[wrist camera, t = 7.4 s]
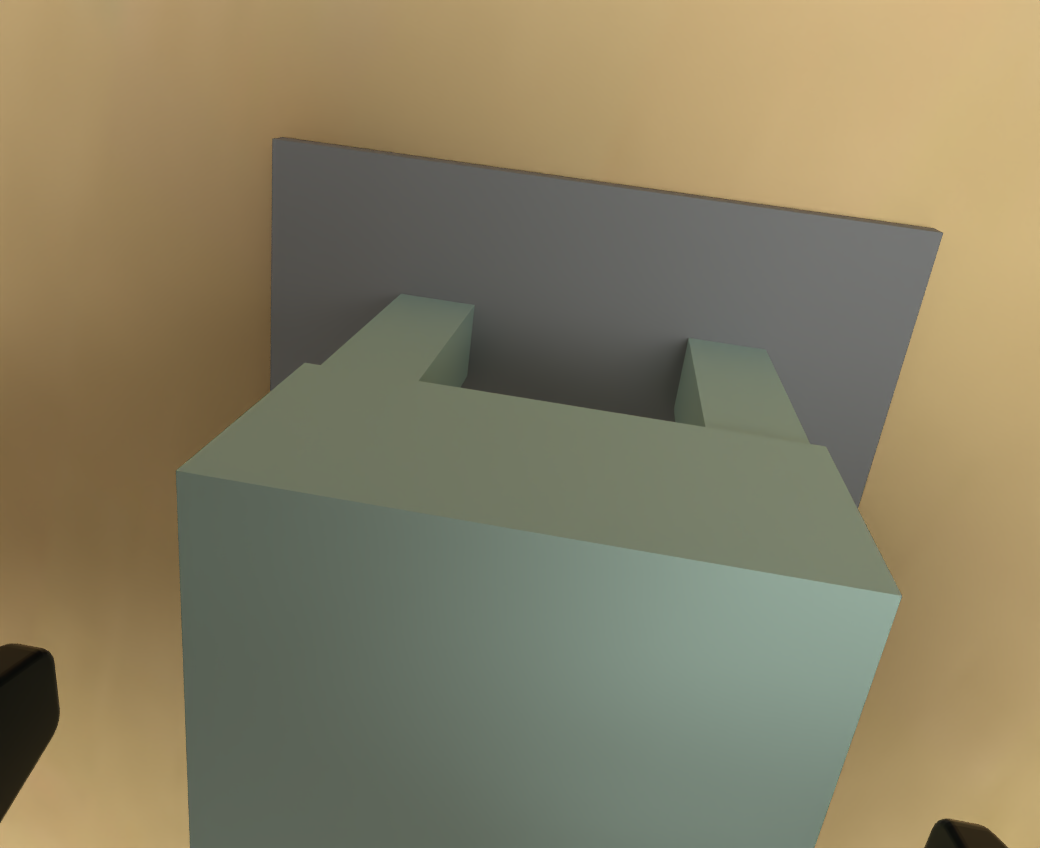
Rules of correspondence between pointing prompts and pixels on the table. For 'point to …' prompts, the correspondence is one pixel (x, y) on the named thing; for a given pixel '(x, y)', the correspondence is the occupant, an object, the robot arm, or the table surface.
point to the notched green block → (519, 610)
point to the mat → (597, 284)
